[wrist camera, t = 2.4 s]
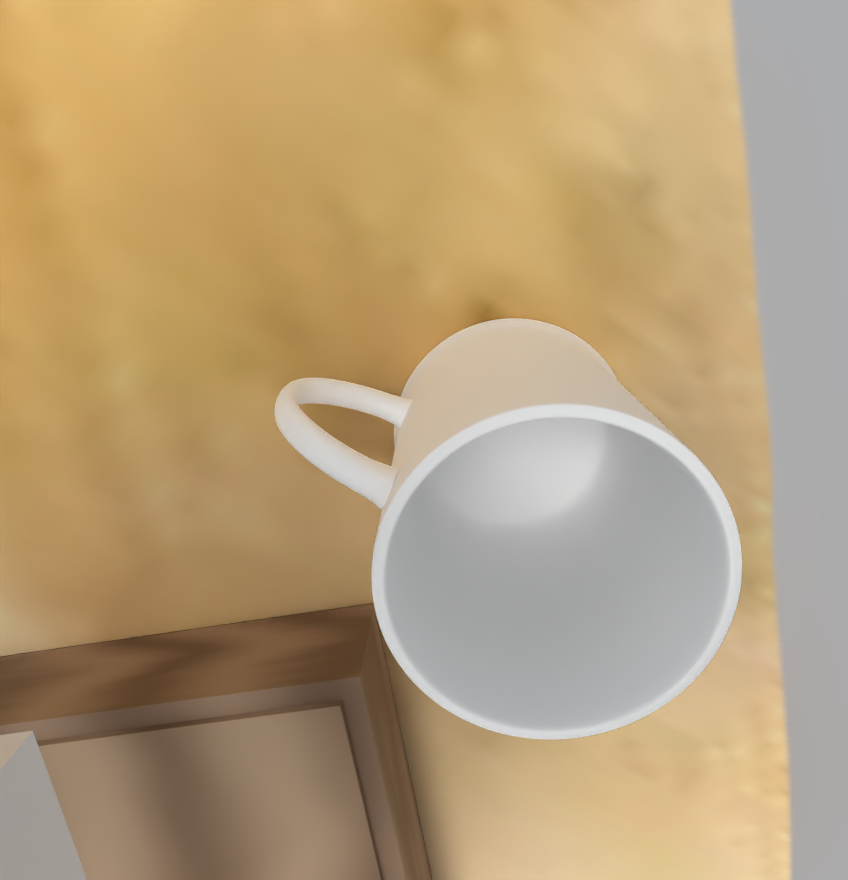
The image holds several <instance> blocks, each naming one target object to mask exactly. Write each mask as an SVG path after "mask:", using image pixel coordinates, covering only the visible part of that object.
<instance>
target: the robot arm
mask: <svg viewBox="0 0 848 880" xmlns="http://www.w3.org/2000/svg"><path fill="white" fill-rule="evenodd" d="M0 880H87V878H86V875H85V872H84V870H83V867H82V864H81V861H80V859H79V856H78V853H77V851H76V848H75V845H74V842H73V840H72V837H71V834H70V831H69V829H68V826H67V823H66V820H65V818H64V815H63V812H62V810H61V807H60V804H59V801H58V799H57V796H56V793H55V790H54V788H53V785H52V782H51V779H50V777H49V774H48V771H47V769H46V766H45V763H44V760H43V758H42V755H41V752H40V749H39V747H38V744H37V741H36V738H35V736H34V733H33V731H27V732H19V733H12V734H5V735H0Z"/></svg>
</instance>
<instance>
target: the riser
mask: <svg viewBox="0 0 848 880" xmlns="http://www.w3.org/2000/svg"><path fill="white" fill-rule="evenodd" d="M27 731H33V733H34V736H35V738H36V741H37V744H38V747H39V749H40V752H41V755H42V758H43V760H44V763H45V766H46V769H47V771H48V774H49V777H50V779H51V782H52V785H53V788H54V790H55V793H56V796H57V799H58V801H59V804H60V807H61V810H62V812H63V815H64V818H65V820H66V823H67V826H68V829H69V831H70V834H71V837H72V840H73V842H74V845H75V848H76V851H77V853H78V856H79V859H80V861H81V864H82V867H83V870H84V872H85V875H86V878H87V880H432V876H431V872H430V867H429V862H428V858H427V853H426V848H425V843H424V839H423V834H422V829H421V824H420V820H419V815H418V810H417V806H416V801H415V796H414V791H413V787H412V782H411V777H410V773H409V768H408V763H407V758H406V754H405V749H404V744H403V740H402V735H401V730H400V725H399V721H398V716H397V711H396V706H395V702H394V697H393V692H392V688H391V683H390V678H389V673H388V669H387V664H386V659H385V655H384V650H383V645H382V640H381V636H380V631H379V626H378V622H377V617H376V612H375V607H374V603H373V604H366V605H359V606H352V607H345V608H338V609H331V610H324V611H317V612H310V613H303V614H296V615H289V616H282V617H275V618H269V619H262V620H255V621H248V622H241V623H234V624H227V625H220V626H213V627H206V628H199V629H192V630H185V631H178V632H171V633H164V634H157V635H150V636H143V637H136V638H129V639H122V640H115V641H108V642H101V643H94V644H87V645H81V646H74V647H67V648H60V649H53V650H46V651H39V652H32V653H25V654H18V655H11V656H4V657H0V735H5V734H12V733H19V732H27Z"/></svg>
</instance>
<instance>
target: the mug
mask: <svg viewBox="0 0 848 880" xmlns="http://www.w3.org/2000/svg"><path fill="white" fill-rule="evenodd" d="M308 403H317V404H328V405H335V406H340V407H345V408H349V409H354V410H357V411H361V412H364V413H368V414H371V415H374V416H377V417H379V418H382V419H384V420H386V421H388V422H390V423H392V424H394V447H395V452H394V456H393V461H392V465H391V466H389V465H386V464H383V463H381V462H378V461H375V460H373V459H371V458H369V457H367V456H365V455H363V454H361V453H359V452H357V451H355V450H354V449H352V448H350V447H348V446H347V445H345V444H343V443H342V442H340V441H339V440H337V439H336V438H334V437H333V436H331V435H330V434H328V433H327V432H326V431H324V430H323V429H322V428H320V427H319V426H318V425H317V424H315V423H314V422H313V421H312V420H311V419H310V418H309V417H308V416H307V415H306V414H305V413H304V412H303V411H302V410H301V408H300V407H299V406H298V405H300V404H308ZM274 414H275V420H276V423H277V425H278V427H279V429H280V431H281V433H282V434H283V436H284V437H285V438H286V439H287V441H288V442H289V443H290V444H291V445H292V446H293V447H294V448H295V449H296V450H297V451H298V452H299V453H300V454H301V455H302V456H304V457H305V458H306V459H307V460H308V461H310V462H311V463H312V464H313V465H315V466H316V467H317V468H319V469H320V470H322V471H323V472H324V473H326V474H327V475H329V476H330V477H332V478H334V479H335V480H337V481H338V482H340V483H342V484H343V485H345V486H347V487H348V488H350V489H352V490H353V491H355V492H357V493H359V494H360V495H362V496H364V497H365V498H367V499H368V500H370V501H371V502H373V503H374V504H375V505H376V506H377V507H379V508H380V509H382V511H381V516H380V520H379V525H378V530H377V534H376V539H375V544H374V550H373V557H372V570H371V583H372V595H373V602H374V607H375V612H376V616H377V620H378V623H379V626H380V629H381V631H382V634H383V636H384V639H385V641H386V643H387V645H388V647H389V649H390V651H391V653H392V654H393V656H394V658H395V659H396V661H397V662H398V664H399V665H400V667H401V668H402V669H403V671H404V672H405V673H406V674H407V676H408V677H409V678H410V679H411V680H412V681H413V682H414V683H415V684H416V685H417V687H419V688H420V689H421V690H422V691H423V692H424V693H425V694H426V695H427V696H428V697H430V698H431V699H432V700H433V701H435V702H436V703H437V704H439V705H440V706H442V707H443V708H444V709H446V710H448V711H449V712H451V713H453V714H454V715H456V716H458V717H460V718H462V719H464V720H466V721H468V722H470V723H472V724H475V725H477V726H480V727H482V728H485V729H488V730H491V731H494V732H498V733H502V734H506V735H510V736H516V737H522V738H530V739H548V740H553V739H571V738H579V737H585V736H591V735H596V734H600V733H604V732H607V731H611V730H614V729H617V728H620V727H622V726H625V725H628V724H630V723H632V722H635V721H637V720H639V719H641V718H643V717H645V716H647V715H649V714H650V713H652V712H654V711H656V710H657V709H659V708H660V707H662V706H663V705H665V704H666V703H668V702H669V701H671V700H672V699H673V698H675V697H676V696H677V695H678V694H680V693H681V692H682V691H683V690H684V689H685V688H686V687H687V686H689V685H690V684H691V683H692V682H693V681H694V680H695V679H696V677H697V676H698V675H699V674H700V673H701V672H702V671H703V670H704V668H705V667H706V666H707V665H708V663H709V662H710V661H711V659H712V658H713V656H714V655H715V653H716V652H717V650H718V648H719V647H720V645H721V643H722V641H723V640H724V638H725V636H726V634H727V631H728V629H729V627H730V624H731V622H732V619H733V616H734V613H735V610H736V607H737V603H738V599H739V594H740V588H741V579H742V553H741V544H740V538H739V533H738V529H737V525H736V522H735V519H734V516H733V513H732V510H731V508H730V505H729V503H728V501H727V499H726V497H725V495H724V493H723V491H722V489H721V488H720V486H719V484H718V483H717V481H716V480H715V478H714V477H713V476H712V474H711V473H710V471H709V470H708V469H707V468H706V466H705V465H704V464H703V463H702V462H701V461H700V460H699V458H698V457H697V456H696V455H695V454H694V453H693V452H692V451H691V450H690V449H689V448H688V447H687V446H686V445H685V444H684V443H682V442H681V441H680V440H679V439H678V438H677V437H676V436H675V435H674V434H673V433H672V432H671V431H670V430H669V429H668V428H667V427H666V426H664V425H663V424H662V423H661V422H660V421H659V420H658V419H657V418H656V417H655V416H654V415H653V414H652V413H651V412H650V411H649V410H648V409H646V408H645V407H644V406H643V405H642V404H641V403H640V402H639V401H638V400H637V399H636V398H635V397H634V396H633V395H632V394H631V393H630V392H628V391H627V390H626V389H625V388H624V387H623V386H622V385H621V384H620V383H619V382H618V380H617V378H616V376H615V374H614V373H613V371H612V369H611V368H610V366H609V365H608V364H607V362H606V361H605V360H604V359H603V358H602V356H601V355H600V354H599V353H598V352H597V351H596V350H595V349H594V348H592V347H591V346H590V345H589V344H588V343H586V342H585V341H584V340H582V339H581V338H579V337H578V336H576V335H575V334H573V333H571V332H569V331H567V330H565V329H563V328H561V327H558V326H556V325H553V324H550V323H546V322H542V321H538V320H532V319H522V318H506V319H497V320H491V321H486V322H482V323H479V324H475V325H473V326H470V327H467V328H465V329H463V330H461V331H459V332H457V333H455V334H453V335H451V336H450V337H448V338H447V339H445V340H444V341H442V342H441V343H440V344H438V345H437V346H436V347H435V348H433V349H432V350H431V351H430V352H429V353H428V354H427V355H426V356H425V357H424V358H423V359H422V361H421V362H420V363H419V364H418V365H417V367H416V368H415V370H414V371H413V372H412V374H411V376H410V377H409V379H408V381H407V383H406V385H405V387H404V389H403V391H402V394H401V396H400V397H399V396H396V395H392V394H389V393H386V392H383V391H380V390H377V389H374V388H370V387H367V386H363V385H359V384H355V383H351V382H347V381H342V380H336V379H329V378H315V377H312V378H301V379H297V380H294V381H292V382H290V383H288V384H287V385H286V386H285V387H284V388H283V389H282V390H281V392H280V393H279V395H278V398H277V400H276V404H275V410H274Z"/></svg>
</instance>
